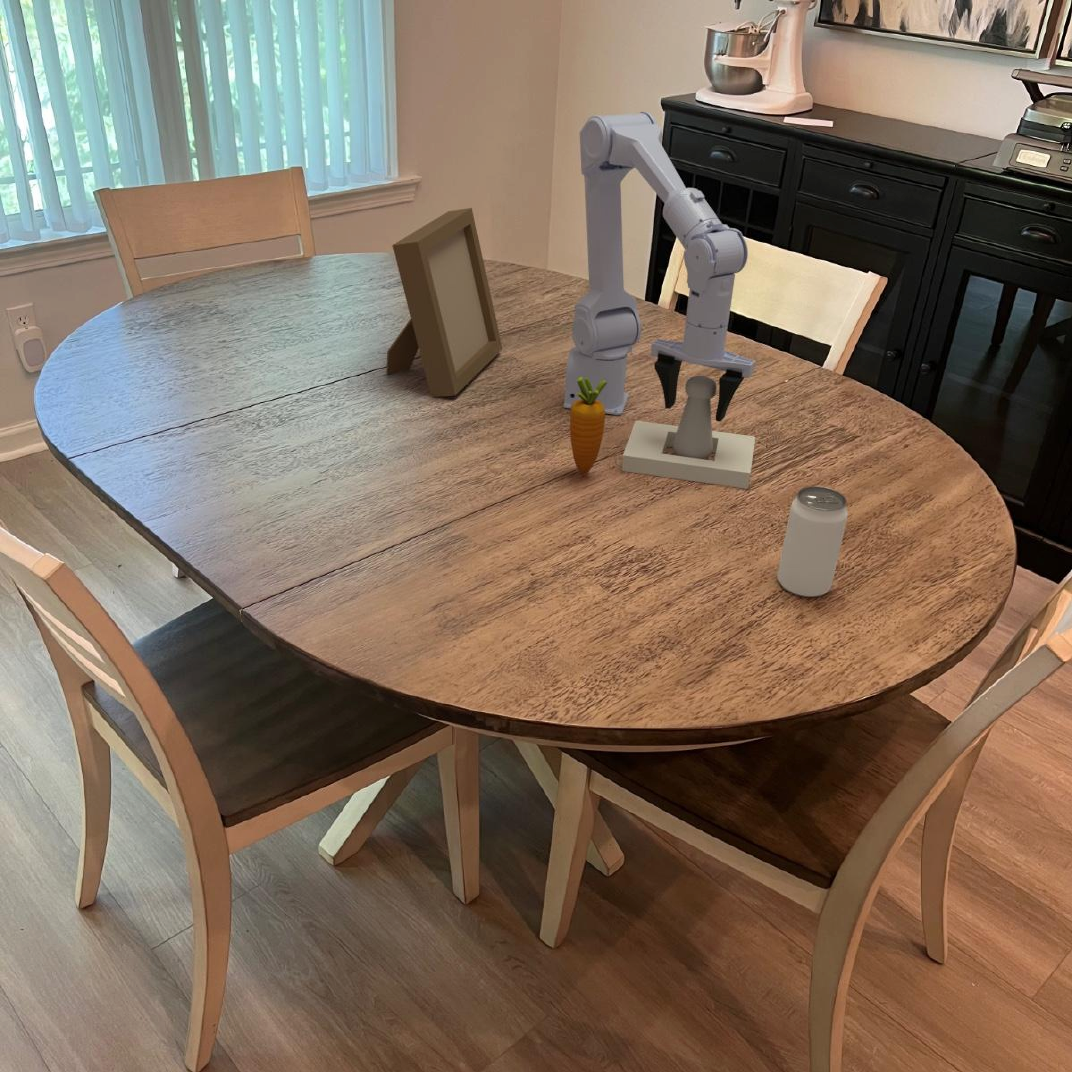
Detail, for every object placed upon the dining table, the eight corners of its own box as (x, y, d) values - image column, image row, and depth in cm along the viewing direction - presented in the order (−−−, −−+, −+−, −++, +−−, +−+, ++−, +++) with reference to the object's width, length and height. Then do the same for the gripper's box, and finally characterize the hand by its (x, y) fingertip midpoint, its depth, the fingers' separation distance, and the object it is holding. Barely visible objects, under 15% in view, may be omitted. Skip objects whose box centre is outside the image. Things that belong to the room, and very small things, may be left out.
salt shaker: (702, 474, 148) (714, 391, 141) (665, 464, 150) (675, 381, 143) (716, 458, 152) (728, 377, 145) (680, 449, 154) (690, 368, 148)
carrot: (604, 471, 148) (612, 373, 140) (595, 486, 144) (602, 386, 136) (571, 464, 149) (578, 367, 141) (561, 479, 145) (566, 380, 137)
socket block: (621, 470, 148) (623, 455, 147) (634, 435, 158) (635, 420, 157) (748, 489, 145) (750, 473, 143) (752, 451, 155) (755, 436, 153)
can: (770, 569, 127) (786, 484, 121) (821, 568, 128) (839, 483, 122) (785, 599, 122) (803, 512, 116) (838, 598, 123) (858, 511, 116)
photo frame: (502, 354, 184) (503, 211, 170) (455, 401, 166) (452, 246, 153) (426, 342, 188) (421, 202, 174) (372, 387, 170) (362, 235, 157)
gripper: (767, 323, 140) (752, 414, 147) (668, 302, 146) (658, 391, 153) (751, 339, 135) (736, 432, 142) (649, 317, 140) (639, 408, 148)
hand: (694, 412), depth 147 cm, fingers open, 7 cm apart
